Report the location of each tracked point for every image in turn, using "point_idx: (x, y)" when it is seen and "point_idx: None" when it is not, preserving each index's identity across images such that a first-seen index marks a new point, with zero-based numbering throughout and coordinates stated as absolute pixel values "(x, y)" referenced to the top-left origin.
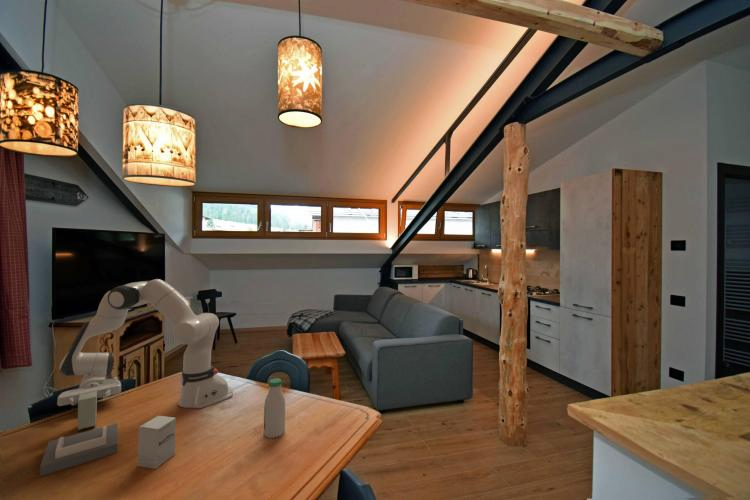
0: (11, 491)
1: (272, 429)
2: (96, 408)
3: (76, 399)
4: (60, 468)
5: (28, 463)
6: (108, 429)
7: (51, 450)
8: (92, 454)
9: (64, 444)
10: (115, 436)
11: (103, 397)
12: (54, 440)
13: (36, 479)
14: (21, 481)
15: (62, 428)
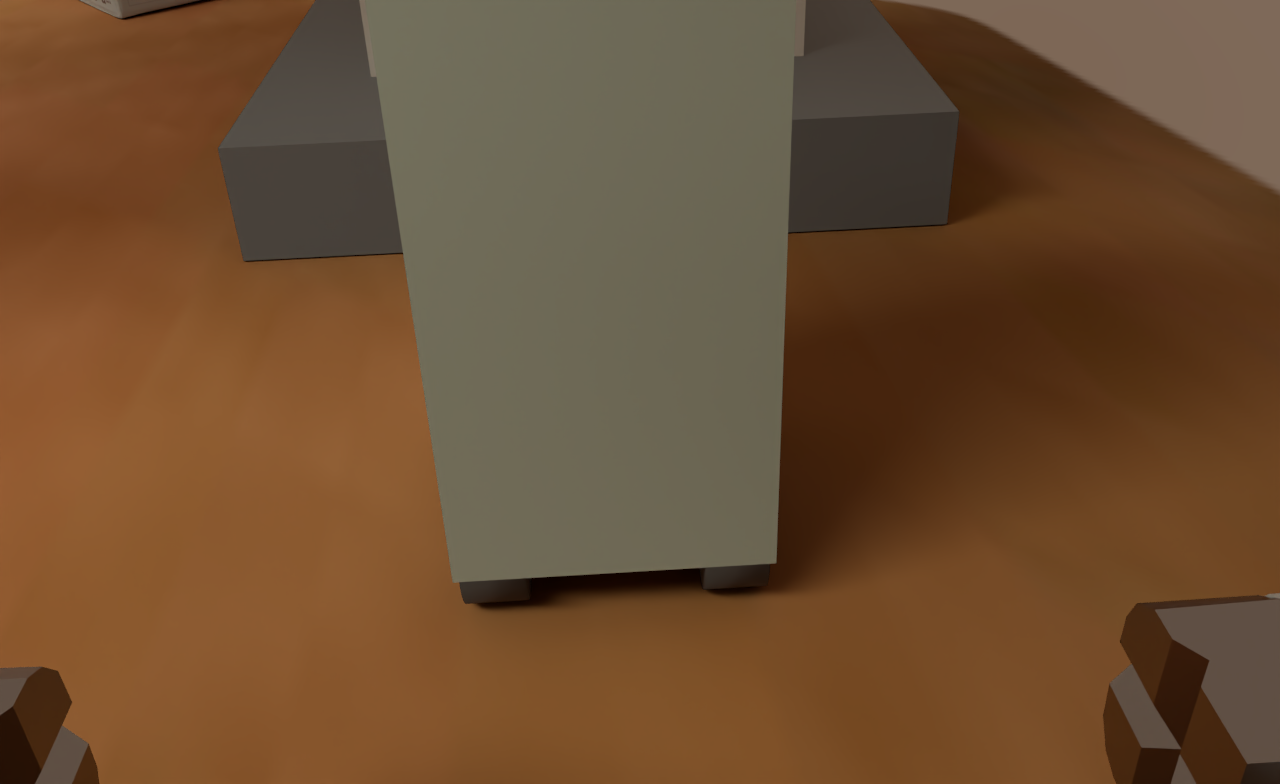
0: (943, 13)
1: None
2: (418, 341)
3: (1222, 694)
4: None
5: (1028, 143)
6: (343, 100)
7: (842, 30)
8: None
9: None
10: (314, 26)
11: (59, 745)
12: (899, 106)
13: None
14: (936, 44)
15: (1093, 653)
